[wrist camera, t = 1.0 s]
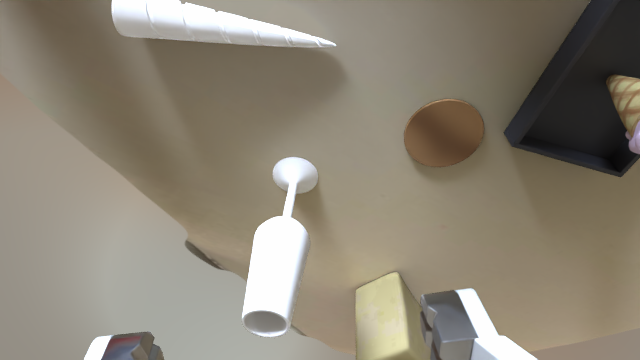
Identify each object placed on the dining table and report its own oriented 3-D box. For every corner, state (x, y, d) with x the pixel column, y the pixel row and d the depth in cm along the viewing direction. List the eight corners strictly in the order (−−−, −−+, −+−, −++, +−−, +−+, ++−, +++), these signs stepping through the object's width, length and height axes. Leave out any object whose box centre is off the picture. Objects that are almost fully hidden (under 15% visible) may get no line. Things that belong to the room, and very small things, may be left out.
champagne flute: (263, 177, 57) (218, 323, 38) (290, 148, 54) (256, 293, 34) (299, 200, 59) (273, 350, 40) (327, 174, 56) (314, 324, 37)
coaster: (431, 86, 47) (431, 87, 46) (499, 117, 49) (500, 119, 48) (389, 149, 52) (390, 151, 52) (452, 175, 54) (453, 177, 54)
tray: (609, -28, 38) (628, -22, 36) (739, 17, 40) (766, 26, 37) (503, 132, 50) (511, 146, 47) (607, 162, 51) (621, 177, 49)
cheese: (460, 327, 76) (480, 409, 65) (417, 342, 81) (429, 421, 69) (397, 267, 67) (407, 350, 55) (353, 288, 71) (353, 369, 59)
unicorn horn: (329, 74, 47) (326, 91, 43) (129, 26, 45) (108, 39, 41) (338, 35, 44) (337, 49, 40) (126, -18, 42) (103, -9, 38)
